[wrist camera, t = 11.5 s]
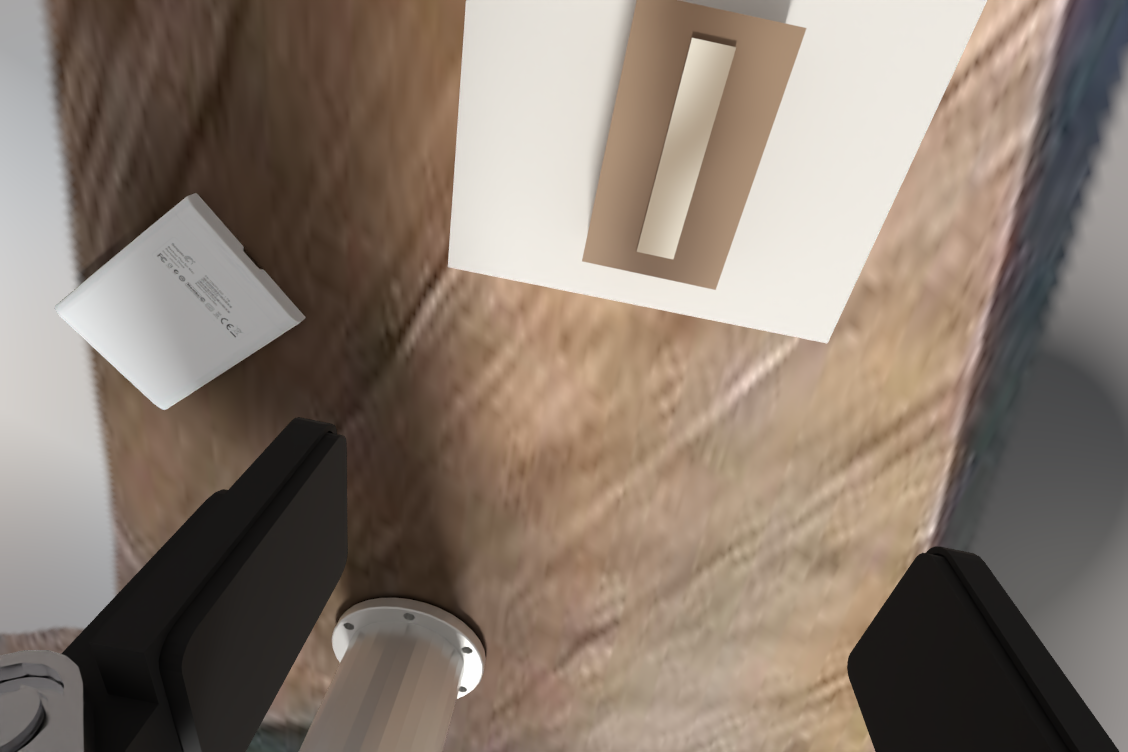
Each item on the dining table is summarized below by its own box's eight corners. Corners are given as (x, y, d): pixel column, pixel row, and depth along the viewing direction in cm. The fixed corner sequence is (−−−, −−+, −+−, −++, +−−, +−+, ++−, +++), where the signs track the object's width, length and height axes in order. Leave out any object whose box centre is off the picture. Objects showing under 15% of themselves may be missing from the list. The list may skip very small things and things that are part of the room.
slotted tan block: (784, 28, 23) (808, 27, 20) (706, 262, 28) (716, 291, 25) (637, -3, 23) (638, -9, 20) (587, 237, 28) (581, 262, 25)
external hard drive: (73, 297, 35) (203, 189, 30) (180, 398, 38) (311, 314, 33) (49, 308, 33) (182, 196, 29) (162, 412, 36) (297, 326, 32)
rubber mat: (824, 338, 30) (827, 343, 30) (451, 263, 30) (447, 266, 30) (992, -29, 22) (1001, -30, 21) (478, -131, 22) (475, -135, 22)
